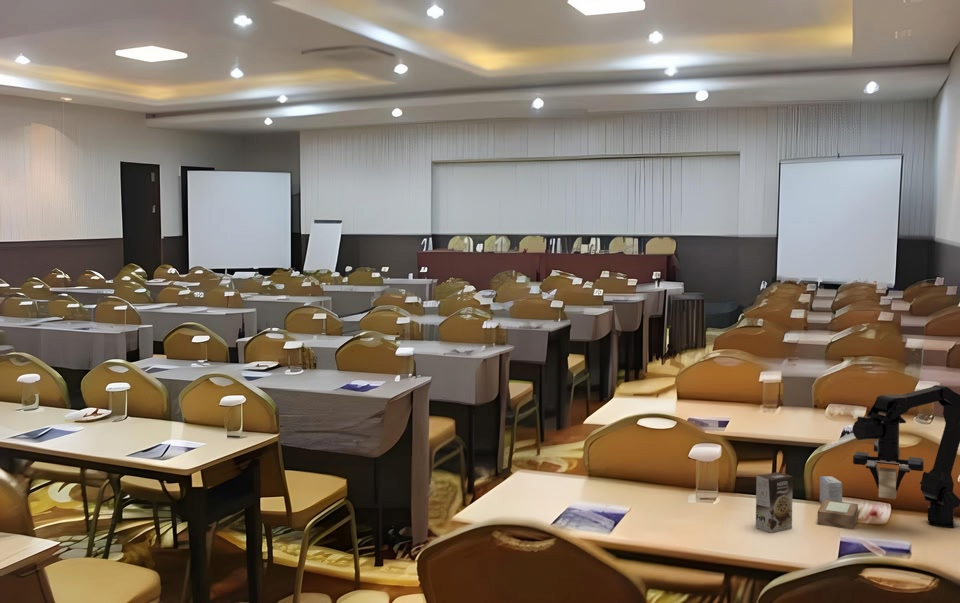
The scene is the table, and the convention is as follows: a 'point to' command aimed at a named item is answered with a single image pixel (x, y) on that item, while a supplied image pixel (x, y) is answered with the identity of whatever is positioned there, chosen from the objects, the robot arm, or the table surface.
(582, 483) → the table surface
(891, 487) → the maple block
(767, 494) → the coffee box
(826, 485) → the medicine box
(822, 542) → the table surface
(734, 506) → the table surface
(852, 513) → the walnut base
